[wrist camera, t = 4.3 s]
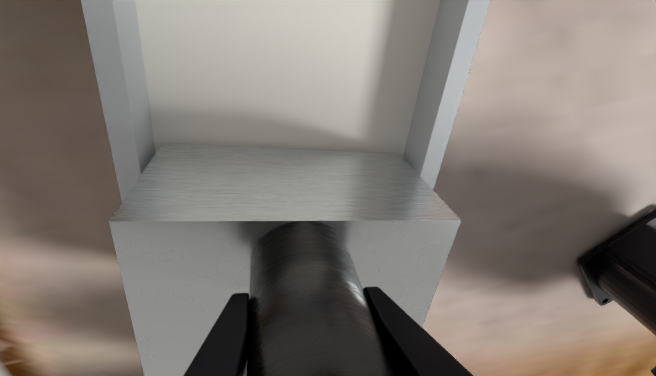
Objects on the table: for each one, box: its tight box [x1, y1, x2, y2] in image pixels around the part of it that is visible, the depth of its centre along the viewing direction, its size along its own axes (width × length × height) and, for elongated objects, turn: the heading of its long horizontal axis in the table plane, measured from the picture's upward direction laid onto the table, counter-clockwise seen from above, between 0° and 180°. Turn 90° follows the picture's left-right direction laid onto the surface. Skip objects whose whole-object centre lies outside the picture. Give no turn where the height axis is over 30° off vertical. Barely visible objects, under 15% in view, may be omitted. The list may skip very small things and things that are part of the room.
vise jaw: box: [109, 143, 461, 376], centre depth 12 cm, size 8×10×10 cm
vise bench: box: [81, 0, 491, 203], centre depth 14 cm, size 33×13×8 cm, turn 173°
